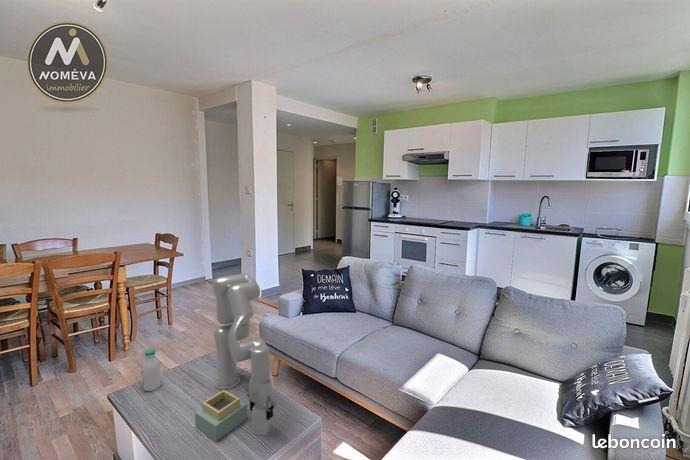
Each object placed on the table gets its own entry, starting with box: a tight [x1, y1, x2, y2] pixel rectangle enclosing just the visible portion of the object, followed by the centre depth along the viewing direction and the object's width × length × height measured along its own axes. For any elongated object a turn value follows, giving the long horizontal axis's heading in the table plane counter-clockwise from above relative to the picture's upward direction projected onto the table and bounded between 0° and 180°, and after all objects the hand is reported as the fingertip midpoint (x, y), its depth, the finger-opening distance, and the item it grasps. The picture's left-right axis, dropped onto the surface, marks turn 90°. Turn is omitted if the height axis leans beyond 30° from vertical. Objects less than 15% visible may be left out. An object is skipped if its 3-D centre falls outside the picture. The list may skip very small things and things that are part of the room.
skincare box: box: [251, 403, 270, 436], centre depth 137 cm, size 6×4×12 cm
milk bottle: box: [141, 348, 162, 392], centre depth 164 cm, size 8×8×20 cm
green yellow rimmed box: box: [194, 389, 248, 442], centre depth 142 cm, size 16×14×10 cm
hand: (261, 413), depth 136 cm, fingers open, 9 cm apart
